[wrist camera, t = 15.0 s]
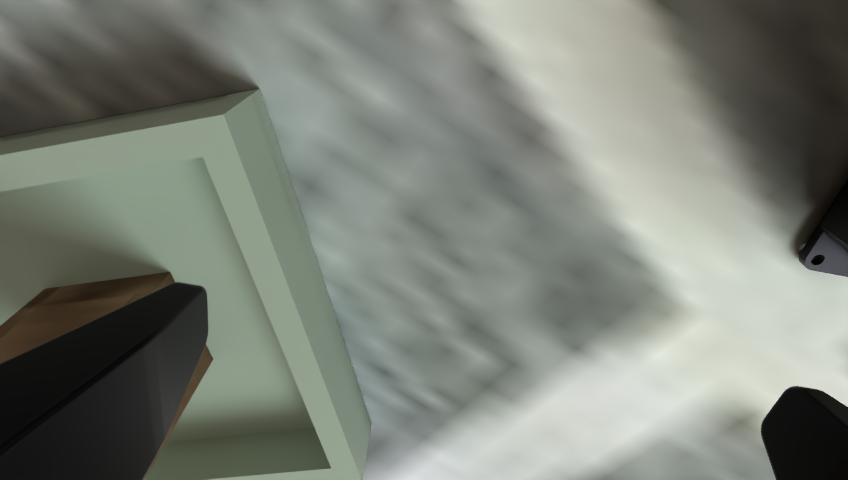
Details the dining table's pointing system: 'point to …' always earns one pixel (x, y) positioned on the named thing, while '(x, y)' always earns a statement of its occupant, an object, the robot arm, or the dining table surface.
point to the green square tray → (197, 275)
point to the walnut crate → (85, 319)
